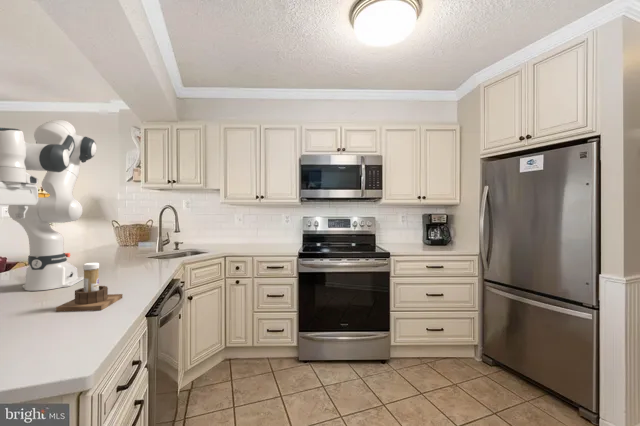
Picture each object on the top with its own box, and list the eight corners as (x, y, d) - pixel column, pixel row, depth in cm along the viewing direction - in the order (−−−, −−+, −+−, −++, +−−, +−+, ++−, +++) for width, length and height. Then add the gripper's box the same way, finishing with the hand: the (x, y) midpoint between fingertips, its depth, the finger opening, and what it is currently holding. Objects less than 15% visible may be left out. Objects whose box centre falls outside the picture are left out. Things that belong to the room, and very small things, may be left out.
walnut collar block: (83, 298, 115) (82, 284, 115) (122, 297, 117) (122, 283, 117) (56, 311, 101) (55, 295, 101) (101, 310, 103) (101, 294, 103)
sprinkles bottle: (98, 301, 108) (98, 263, 108) (82, 303, 106) (82, 265, 105) (99, 297, 112) (99, 261, 112) (84, 299, 109) (83, 262, 109)
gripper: (-13, 173, 88) (-12, 220, 89) (42, 179, 109) (42, 218, 109) (-37, 173, 87) (-36, 220, 88) (22, 179, 108) (23, 217, 108)
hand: (8, 219), depth 99 cm, fingers open, 8 cm apart
